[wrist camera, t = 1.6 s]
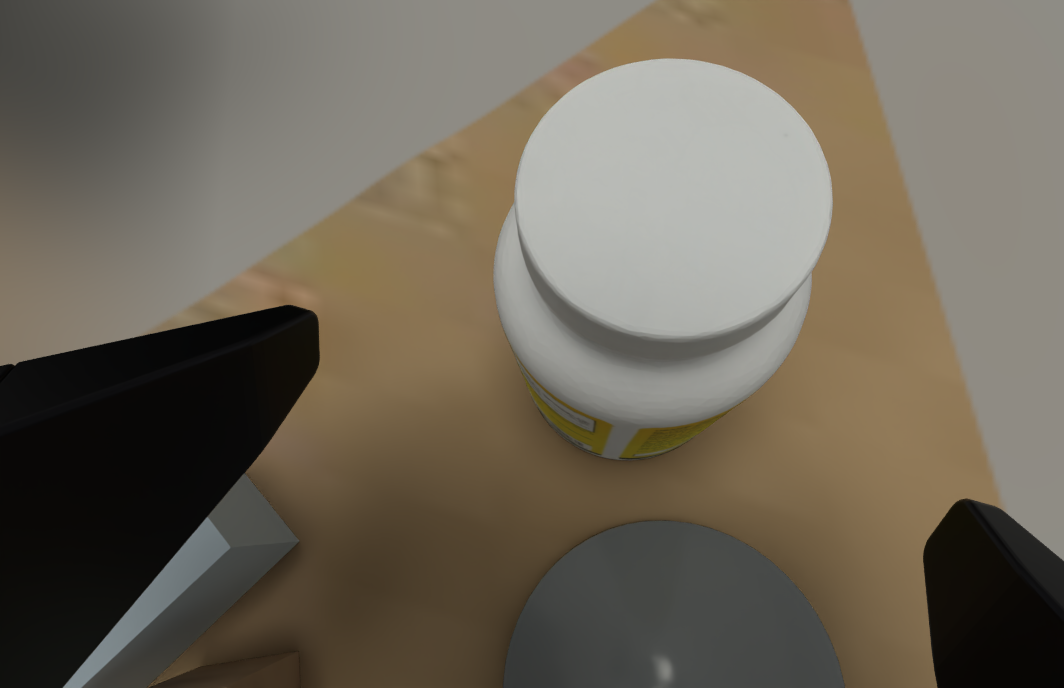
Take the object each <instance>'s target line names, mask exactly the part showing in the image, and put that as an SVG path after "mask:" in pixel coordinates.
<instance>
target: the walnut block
mask: <svg viewBox="0 0 1064 688" xmlns="http://www.w3.org/2000/svg"><path fill="white" fill-rule="evenodd" d="M149 688H301V687H300V666H299V651H295V652H289V653H283V654H277V655H271V656H264V657H258V658H252V659H246V660H240V661H234V662H227V663H221V664H215V665H209V666H203V667H198V668H196V669H194V670H191V671H189V672H186V673H184V674H181V675H179V676H176V677H174V678H171V679H169V680H166V681H164V682H162V683H159V684H157V685H154V686H152V687H149Z"/></svg>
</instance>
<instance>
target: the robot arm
mask: <svg viewBox="0 0 1064 688" xmlns="http://www.w3.org/2000/svg"><path fill="white" fill-rule="evenodd" d="M319 360H320V351H319V323H318V318H317V315H316V314H315V313H314V312H313V311H311V310H307V309H304V308H300V307H297V306H293V305H284V306H279V307H275V308H270V309H265V310H261V311H256V312H251V313H247V314H242V315H237V316H233V317H228V318H223V319H218V320H214V321H209V322H204V323H200V324H195V325H190V326H186V327H181V328H176V329H172V330H167V331H162V332H158V333H153V334H148V335H144V336H139V337H134V338H130V339H125V340H120V341H116V342H111V343H106V344H102V345H97V346H92V347H88V348H83V349H78V350H74V351H69V352H65V353H60V354H55V355H51V356H46V357H41V358H36V359H32V360H27V361H23V362H19V363H17V364H16V365H15V366H14V365H13V364H7V365H3V366H0V688H63V687H64V686H65V685H66V684H67V682H68V681H69V680H70V679H71V678H72V676H73V675H74V674H75V673H76V672H77V670H78V669H79V668H80V667H81V666H82V665H83V663H84V662H85V661H86V660H87V659H88V657H89V656H90V655H91V654H92V653H93V652H94V650H95V649H96V648H97V647H98V646H99V644H100V643H101V642H102V641H103V640H104V639H105V637H106V636H107V635H108V634H109V633H110V631H111V630H112V629H113V628H114V627H115V626H116V624H117V623H118V622H119V621H120V620H121V618H122V617H123V616H124V615H125V614H126V613H127V611H128V610H129V609H130V608H131V607H132V605H133V604H134V603H135V602H136V601H137V600H138V598H139V597H140V596H141V595H142V594H143V592H144V591H145V590H146V589H147V588H148V587H149V585H150V584H151V583H152V582H153V581H154V579H155V578H156V577H157V576H158V575H159V573H160V572H161V571H162V570H163V569H164V568H165V566H166V565H167V564H168V563H169V562H170V560H171V559H172V558H173V557H174V556H175V555H176V553H177V552H178V551H179V550H180V549H181V547H182V546H183V545H184V544H185V543H186V542H187V540H188V539H189V538H190V537H191V536H192V534H193V533H194V532H195V531H196V530H197V529H198V527H199V526H200V525H201V524H202V523H203V521H204V520H205V519H206V518H207V517H208V516H209V514H210V513H211V512H212V511H213V510H214V508H215V507H216V506H217V505H218V504H219V503H220V501H221V500H222V499H223V498H224V497H225V495H226V494H227V493H228V492H229V491H230V490H231V488H232V487H233V486H234V485H235V484H236V482H237V481H238V480H239V479H240V478H241V477H242V475H243V474H244V473H245V472H246V471H247V469H248V468H249V467H250V466H251V465H252V463H253V462H254V461H255V460H256V459H257V457H258V456H259V455H260V454H261V452H262V451H263V450H264V448H265V447H266V446H267V444H268V443H269V441H270V440H271V439H272V437H273V436H274V434H275V433H276V431H277V430H278V428H279V427H280V425H281V424H282V422H283V421H284V419H285V418H286V416H287V415H288V413H289V412H290V410H291V409H292V407H293V406H294V404H295V403H296V401H297V400H298V399H299V397H300V396H301V394H302V393H303V391H304V390H305V388H306V387H307V385H308V384H309V382H310V381H311V379H312V378H313V376H314V375H315V373H316V371H317V368H318V365H319ZM923 563H924V573H925V584H926V594H927V605H928V615H929V626H930V636H931V647H932V656H933V663H934V671H935V676H936V681H937V687H938V688H1064V561H1063V560H1062V559H1060V558H1059V557H1058V556H1057V555H1056V554H1055V553H1053V552H1052V551H1051V550H1050V549H1049V548H1047V547H1046V546H1045V545H1044V544H1043V543H1041V542H1040V541H1039V540H1038V539H1036V538H1035V537H1034V536H1033V535H1032V534H1031V533H1029V532H1028V531H1027V530H1026V529H1025V528H1023V527H1022V526H1021V525H1020V524H1018V523H1017V522H1016V521H1015V520H1014V519H1013V518H1011V517H1010V516H1009V515H1008V514H1007V513H1005V512H1004V511H1003V510H1001V509H1000V508H998V507H995V506H992V505H988V504H985V503H981V502H978V501H974V500H971V499H961V500H959V501H957V502H956V503H955V504H954V505H953V506H952V507H951V508H950V510H949V511H948V513H947V514H946V515H945V517H944V518H943V519H942V521H941V522H940V523H939V525H938V526H937V528H936V529H935V530H934V532H933V533H932V534H931V536H930V537H929V539H928V540H927V542H926V545H925V548H924V553H923Z"/></svg>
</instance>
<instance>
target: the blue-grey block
mask: <svg viewBox="0 0 1064 688" xmlns="http://www.w3.org/2000/svg"><path fill="white" fill-rule="evenodd" d="M298 542H299V540H298V539H297V537H296V536H295V535H294V534H293V532H292V531H291V530H290V529H289V528H288V526H287V525H286V524H285V523H284V521H283V520H282V519H281V518H280V516H279V515H278V514H277V513H276V511H275V510H274V509H273V508H272V506H271V505H270V504H269V503H268V501H267V500H266V499H265V498H264V496H263V495H262V494H261V493H260V492H259V490H258V489H257V488H256V487H255V485H254V484H253V483H252V482H251V480H250V479H249V478H248V477H247V475H246V474H245V473H244V474H243V475H242V477H241V478H240V479H239V480H238V481H237V482H236V484H235V485H234V486H233V487H232V488H231V490H230V491H229V492H228V493H227V494H226V495H225V497H224V498H223V499H222V500H221V501H220V503H219V504H218V505H217V506H216V507H215V508H214V510H213V511H212V512H211V513H210V514H209V516H208V517H207V518H206V519H205V520H204V521H203V523H202V524H201V525H200V526H199V527H198V529H197V530H196V531H195V532H194V533H193V534H192V536H191V537H190V538H189V539H188V540H187V542H186V543H185V544H184V545H183V546H182V547H181V549H180V550H179V551H178V552H177V553H176V555H175V556H174V557H173V558H172V559H171V560H170V562H169V563H168V564H167V565H166V566H165V568H164V569H163V570H162V571H161V572H160V573H159V575H158V576H157V577H156V578H155V579H154V581H153V582H152V583H151V584H150V585H149V587H148V588H147V589H146V590H145V591H144V592H143V594H142V595H141V596H140V597H139V598H138V600H137V601H136V602H135V603H134V604H133V605H132V607H131V608H130V609H129V610H128V611H127V613H126V614H125V615H124V616H123V617H122V618H121V620H120V621H119V622H118V623H117V624H116V626H115V627H114V628H113V629H112V630H111V631H110V633H109V634H108V635H107V636H106V637H105V639H104V640H103V641H102V642H101V643H100V644H99V646H98V647H97V648H96V649H95V650H94V652H93V653H92V654H91V655H90V656H89V657H88V659H87V660H86V661H85V662H84V663H83V665H82V666H81V667H80V668H79V669H78V670H77V672H76V673H75V674H74V675H73V676H72V678H71V679H70V680H69V681H68V682H67V684H66V685H65V686H64V687H63V688H147V687H148V686H149V685H150V684H151V683H152V682H153V681H154V680H155V679H156V678H157V677H158V676H159V675H160V674H161V673H162V672H163V671H164V670H165V669H166V668H167V667H169V666H170V665H171V664H172V663H173V662H174V661H175V660H176V659H177V658H178V657H179V656H180V655H181V654H182V653H183V652H184V651H185V650H186V649H187V648H188V647H189V646H190V645H192V644H193V643H194V642H195V641H196V640H197V639H198V638H199V637H200V636H201V635H202V634H203V633H204V632H205V631H206V630H207V629H208V628H209V627H210V626H211V625H212V624H213V623H215V622H216V621H217V620H218V619H219V618H220V617H221V616H222V615H223V614H224V613H225V612H226V611H227V610H228V609H229V608H230V607H231V606H232V605H233V604H234V603H235V602H236V601H238V600H239V599H240V598H241V597H242V596H243V595H244V594H245V593H246V592H247V591H248V590H249V589H250V588H251V587H252V586H253V585H254V584H255V583H256V582H257V581H258V580H260V579H261V578H262V577H263V576H264V575H265V574H266V573H267V572H268V571H269V570H270V569H271V568H272V567H273V566H274V565H275V564H276V563H277V562H278V561H279V560H280V559H281V558H283V557H284V556H285V555H286V554H287V553H288V552H289V551H290V550H291V549H292V548H293V547H294V546H295V545H296V544H297V543H298Z"/></svg>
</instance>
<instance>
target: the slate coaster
mask: <svg viewBox="0 0 1064 688" xmlns="http://www.w3.org/2000/svg"><path fill="white" fill-rule="evenodd" d="M503 688H845V685H844V681H843V677H842V673H841V669H840V665H839V662H838V659H837V656H836V653H835V651H834V648H833V646H832V643H831V641H830V638H829V636H828V634H827V632H826V630H825V628H824V626H823V624H822V623H821V621H820V619H819V617H818V615H817V613H816V612H815V611H814V609H813V608H812V606H811V605H810V603H809V602H808V600H807V599H806V597H805V596H804V594H803V593H802V592H801V591H800V590H799V589H798V588H797V586H796V585H795V584H794V583H793V582H792V581H791V580H790V578H789V577H788V576H787V575H786V574H785V573H784V572H782V571H781V570H780V569H779V568H778V567H777V566H776V565H775V564H774V563H773V562H771V561H770V560H769V559H768V558H766V557H765V556H763V555H762V554H760V553H759V552H758V551H756V550H755V549H753V548H752V547H750V546H749V545H747V544H745V543H743V542H741V541H739V540H737V539H736V538H734V537H732V536H729V535H727V534H724V533H722V532H719V531H717V530H714V529H712V528H708V527H704V526H700V525H696V524H692V523H684V522H676V521H666V520H665V521H642V522H635V523H629V524H624V525H621V526H617V527H614V528H611V529H608V530H605V531H603V532H601V533H599V534H596V535H594V536H592V537H590V538H588V539H586V540H585V541H583V542H582V543H580V544H579V545H577V546H575V547H574V548H572V549H571V550H570V551H569V552H568V553H566V554H565V555H564V556H563V557H562V558H560V559H559V560H558V561H557V562H556V563H555V564H554V565H553V566H552V567H551V569H550V570H549V571H548V572H547V573H546V574H545V575H544V576H543V578H542V579H541V581H540V582H539V583H538V585H537V586H536V588H535V589H534V591H533V592H532V594H531V595H530V597H529V599H528V601H527V603H526V605H525V606H524V608H523V610H522V612H521V614H520V616H519V618H518V621H517V624H516V627H515V629H514V632H513V635H512V637H511V641H510V645H509V649H508V654H507V658H506V663H505V672H504V681H503Z"/></svg>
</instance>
